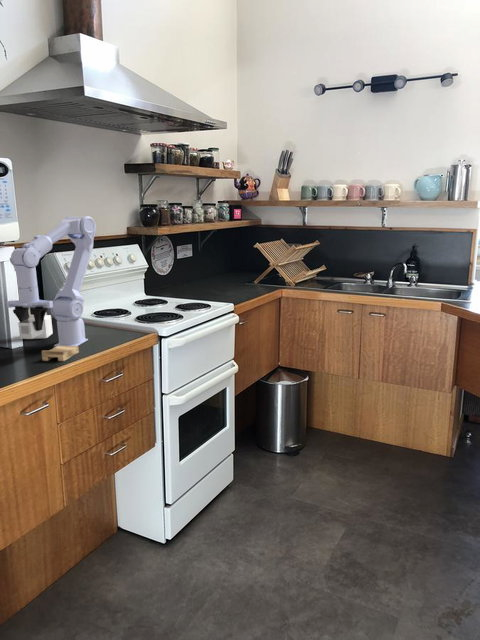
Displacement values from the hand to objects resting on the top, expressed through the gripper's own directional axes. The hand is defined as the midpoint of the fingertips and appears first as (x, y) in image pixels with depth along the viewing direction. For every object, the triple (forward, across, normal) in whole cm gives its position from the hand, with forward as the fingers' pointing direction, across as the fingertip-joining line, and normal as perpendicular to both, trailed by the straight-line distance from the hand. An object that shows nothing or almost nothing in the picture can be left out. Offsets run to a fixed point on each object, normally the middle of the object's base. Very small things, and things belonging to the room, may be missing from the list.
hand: (32, 330), depth 165 cm
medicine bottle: (+9, -12, +24) cm, 28 cm away
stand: (+8, +9, 0) cm, 12 cm away
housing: (+2, 0, 0) cm, 2 cm away
